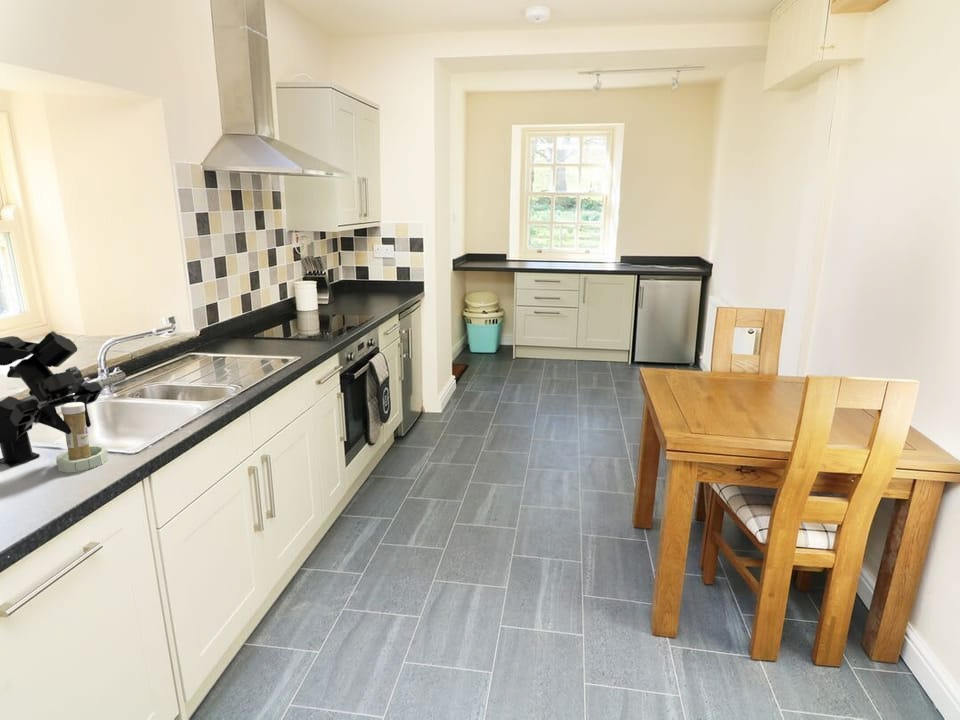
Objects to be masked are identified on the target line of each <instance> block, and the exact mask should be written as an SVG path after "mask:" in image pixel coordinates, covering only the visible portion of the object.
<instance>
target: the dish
mask: <svg viewBox="0 0 960 720" xmlns="http://www.w3.org/2000/svg"><path fill="white" fill-rule="evenodd" d="M89 449H90V453H91V456H90V457H89V458H85V459H80V460H73V461H71V460H69V453H68V450H66V451H64V452H61V453H60V454H59V455H57V456H56V459H55V460H56V464H57V469H58V471H59V472H63V473H78V472H84V471H88V469H89V470H91V468H92V469H94V468H97V467H100V466H102V465H104V464H105V463H106V462H108V461H109V453H108V447H107V446H105V445H102V444H89ZM105 461H106V462H105ZM104 462H105V463H104ZM101 464H102V465H101ZM99 465H100V466H99ZM96 466H97V467H96ZM93 467H94V468H93Z"/></svg>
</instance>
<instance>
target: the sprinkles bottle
mask: <svg viewBox="0 0 960 720" xmlns="http://www.w3.org/2000/svg"><path fill="white" fill-rule="evenodd" d="M60 411H61V414H62V416H63V417H62V419H63V421H64V422H65V423H66V424H67V425H68V427H69V428H70V430H71V433H70V434H66V433H64V435H65V441H66V442H65V443H66V447H67V451H68V453H69V460H71V461H73V460H80V459H85V458H89V457H90V456H91V453H90V449H89V445H90V440H89V432H88V427H87V425H86V419H85V405H84V403H82V402H73V403H67V404H64V405H60Z"/></svg>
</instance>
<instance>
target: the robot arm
mask: <svg viewBox="0 0 960 720" xmlns="http://www.w3.org/2000/svg"><path fill="white" fill-rule="evenodd" d="M77 351H78V347H77V345H76V344H75V343H74V341H72V340H71V339H70V338H67V337H65V336H63V335H61V334H57V333H56V332H55V331H51V332H48V333H47V334H46V335H45V337H44V338H43V339H42V340H41V341H39V342H38V343H37V342H32V341H26V340H22V339H21V338H20V337H19V336H15V335H14V336H13V335H11V336H5V337H0V366H9V365H10V366H9V370H8V372H7V374H6V377H7V378H13V379H21V380H22V382H24V384H25V385H26V386H27V388H28V389H29V392H28V394H29V396H30V397H34V396H35V398H36V399H32V398H31V399H29V400H21V399H18V398H16V397H13V396H10V395H8V396H7V397H5V398H3V399H1V400H0V452H1V455H2V458H0V464H1V465H2V464H3V465H5V466H8V467H13V466H16V465H19V464H22V463H25V462H27V461H28V462H29V461H30V460H33V459H36V458H39V457H41V455H40V453H37V452H33V449H32V445H31V440H30V436H29V431H30V430H32V429H33V426H34V425H33V424H42V425H45V426H48V427H50V428H53V429H55V430H57V431H59V432H62V433H64V434H65V433H66V434H70V433H71V430H70V428H69V427H68V425H67V424H66V423H65V422H64V418H63V417H61V416H60V414H58V412H57V409H56V407H59V406H60V407H61V406H62V405H64V404H67V403H73V402H82V403H84V405H85V419H86V425H87V428H90V427H91V426H92V424H91V419H90V415H89V412H88V406H87V405H89V404H92V403H94V402H95V401H97V399H98V398H99V396H100V395H101V392H102V391H103V390H104V388H103V387H102V386H101V384H100V383H99V382H97V381H90V382H87V383H85V384H81V385H80V386H79V387H78V389H77V391H76V392H73V393H69V392H71V391H72V389H73V387H72V386H73V385H75V384H77V383H78V381H79V380H81V379H83V373H82V371H81V370H80V369H79V368H78V367H77V366H76V365H75V366H72V367H69V368H67V369H65V371H63V372H58V373H53V371H52V370H51V369H50V368H51V367H54V368H59V367H60V366H61V365H62V364H64V363H65V362H66V361H67V360H69V358H71V357H73V355H74V354H76V353H77ZM29 356H30V357H29ZM19 360H21V361H19ZM17 361H19V362H18V363H17V364H16V365H15V366H14V365H11V364H13V363H15V362H17Z"/></svg>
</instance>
